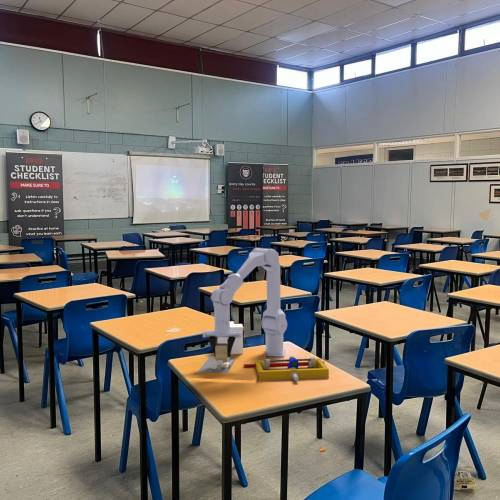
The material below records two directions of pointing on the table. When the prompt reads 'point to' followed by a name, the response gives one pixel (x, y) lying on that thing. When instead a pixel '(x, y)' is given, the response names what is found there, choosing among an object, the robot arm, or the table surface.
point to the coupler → (222, 352)
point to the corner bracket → (238, 342)
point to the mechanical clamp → (290, 369)
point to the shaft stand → (217, 365)
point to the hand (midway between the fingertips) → (222, 356)
